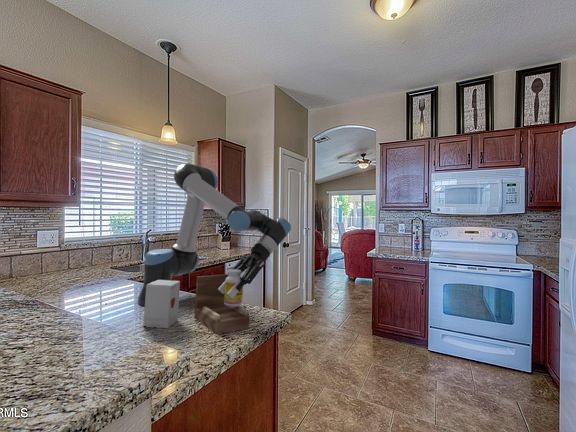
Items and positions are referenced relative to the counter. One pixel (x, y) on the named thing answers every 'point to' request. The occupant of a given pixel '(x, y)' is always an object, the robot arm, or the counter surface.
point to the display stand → (217, 306)
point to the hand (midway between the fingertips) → (225, 293)
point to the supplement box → (161, 303)
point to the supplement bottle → (229, 283)
